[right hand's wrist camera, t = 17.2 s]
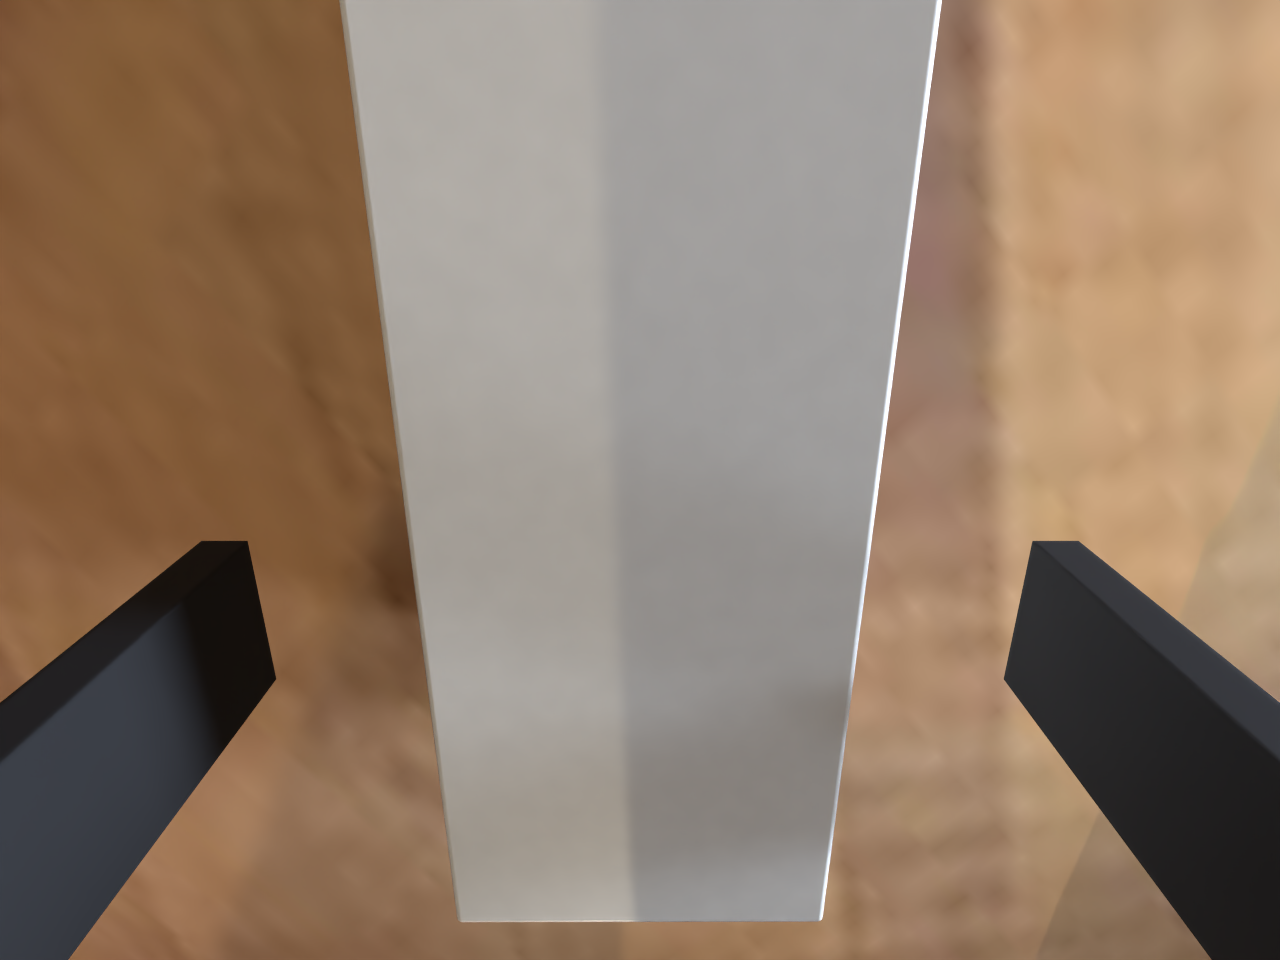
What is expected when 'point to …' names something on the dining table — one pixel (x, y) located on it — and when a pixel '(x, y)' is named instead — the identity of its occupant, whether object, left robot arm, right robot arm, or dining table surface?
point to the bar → (640, 423)
